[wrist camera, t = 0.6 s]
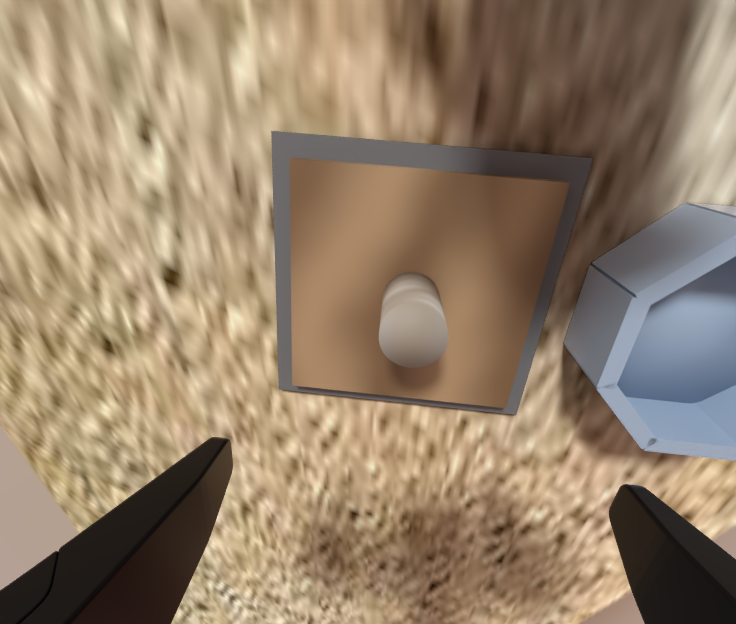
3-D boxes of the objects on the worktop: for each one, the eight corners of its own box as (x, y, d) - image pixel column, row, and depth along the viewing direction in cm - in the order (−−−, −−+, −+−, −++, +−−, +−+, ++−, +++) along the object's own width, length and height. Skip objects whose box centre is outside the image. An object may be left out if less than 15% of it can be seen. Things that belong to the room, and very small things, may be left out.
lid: (563, 180, 17) (616, 199, 13) (502, 399, 23) (526, 464, 18) (293, 157, 18) (260, 168, 14) (295, 377, 23) (271, 435, 19)
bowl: (864, 217, 18) (984, 242, 14) (744, 413, 22) (810, 468, 19) (612, 195, 18) (665, 213, 14) (547, 392, 23) (574, 443, 19)
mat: (589, 157, 17) (593, 158, 17) (514, 410, 23) (516, 414, 23) (274, 131, 18) (271, 131, 18) (280, 385, 24) (278, 389, 24)
